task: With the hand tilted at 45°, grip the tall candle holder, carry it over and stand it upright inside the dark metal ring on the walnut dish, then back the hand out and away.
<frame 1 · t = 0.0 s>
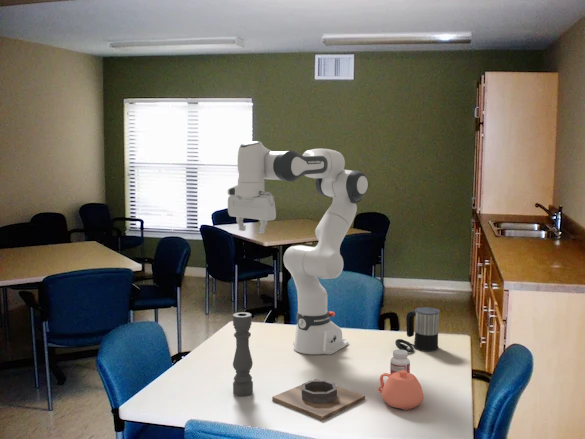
hand: (251, 231, 207), 48 cm above the table, tool pointing down, fingers open, 8 cm apart
candle dish: (318, 400, 188), on the table
sugar bowl: (399, 403, 186), on the table
milk frother: (417, 349, 235), on the table
candle holder: (243, 393, 194), on the table
pill bottle: (399, 385, 200), on the table
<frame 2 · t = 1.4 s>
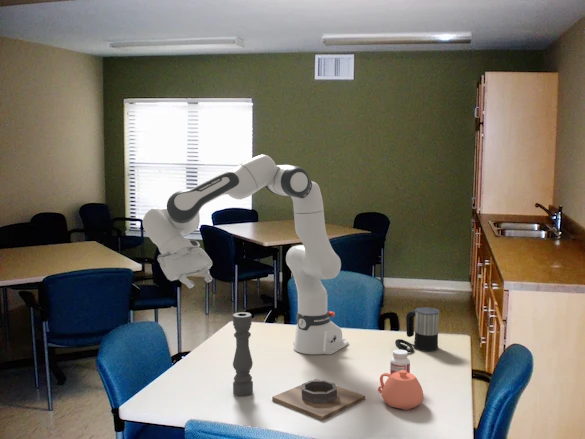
hand: (201, 283, 198), 33 cm above the table, tool tilted 45°, fingers open, 8 cm apart
nothing on the table moved.
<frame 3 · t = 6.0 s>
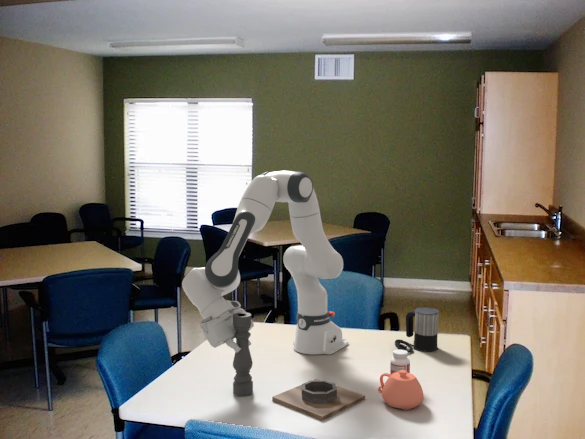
hand: (244, 348, 192), 14 cm above the table, tool tilted 45°, fingers closed on candle holder, 4 cm apart
candle holder: (243, 393, 194), on the table, touching gripper
everything else where it was.
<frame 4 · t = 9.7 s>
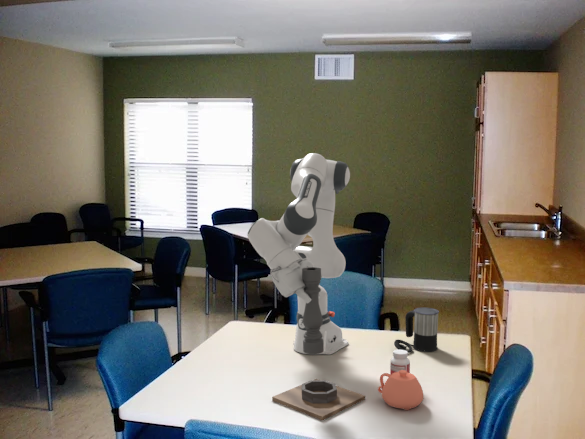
hand: (314, 299, 185), 31 cm above the table, tool tilted 45°, fingers closed on candle holder, 4 cm apart
candle holder: (313, 351, 187), point 15 cm above the table, touching gripper
everything else where it was.
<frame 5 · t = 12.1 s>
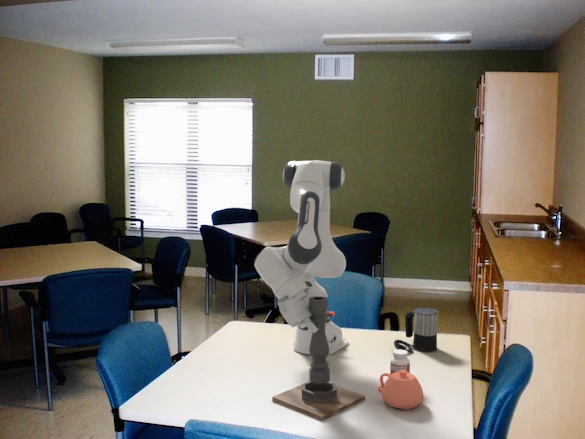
hand: (320, 329, 185), 22 cm above the table, tool tilted 45°, fingers closed on candle holder, 4 cm apart
candle holder: (319, 380, 187), point 6 cm above the table, touching gripper
everything else where it was.
when the fingers open (17 cm above the table, at t = 13.8 s): candle holder stays where it is, resting on candle dish.
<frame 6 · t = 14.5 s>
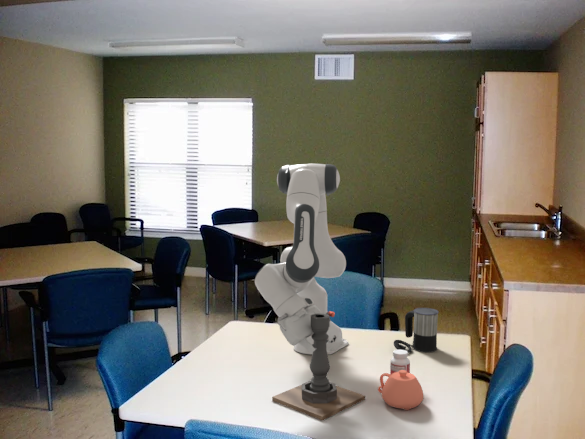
hand: (321, 346, 186), 17 cm above the table, tool tilted 45°, fingers open, 8 cm apart
candle holder: (319, 397, 188), point 1 cm above the table, touching candle dish
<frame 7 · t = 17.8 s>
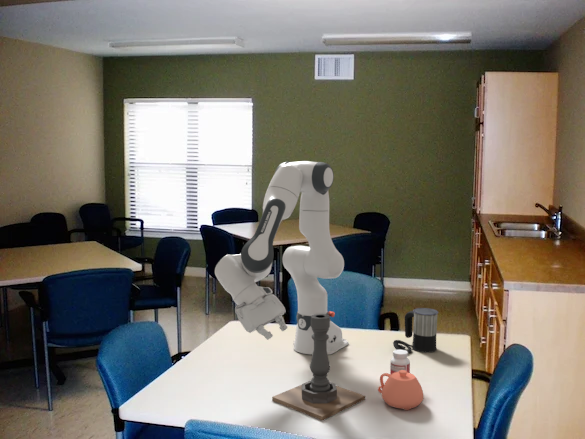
hand: (277, 333, 193), 18 cm above the table, tool tilted 45°, fingers open, 8 cm apart
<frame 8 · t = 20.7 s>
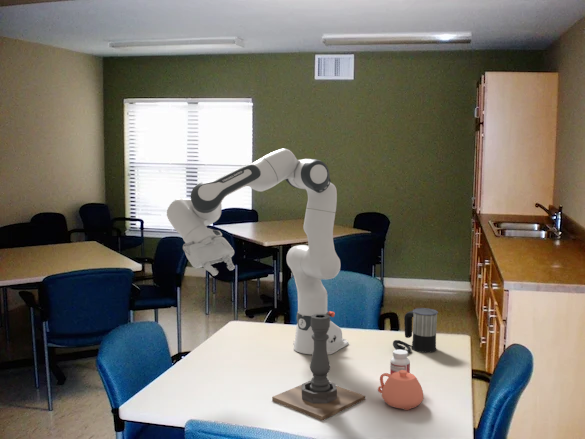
hand: (224, 271, 205), 35 cm above the table, tool tilted 45°, fingers open, 8 cm apart
at the end: candle holder 0.4 cm off-centre on the candle dish, point 1.0 cm above the candle dish's base; candle holder tilted 0°; the gripper is holding nothing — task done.
